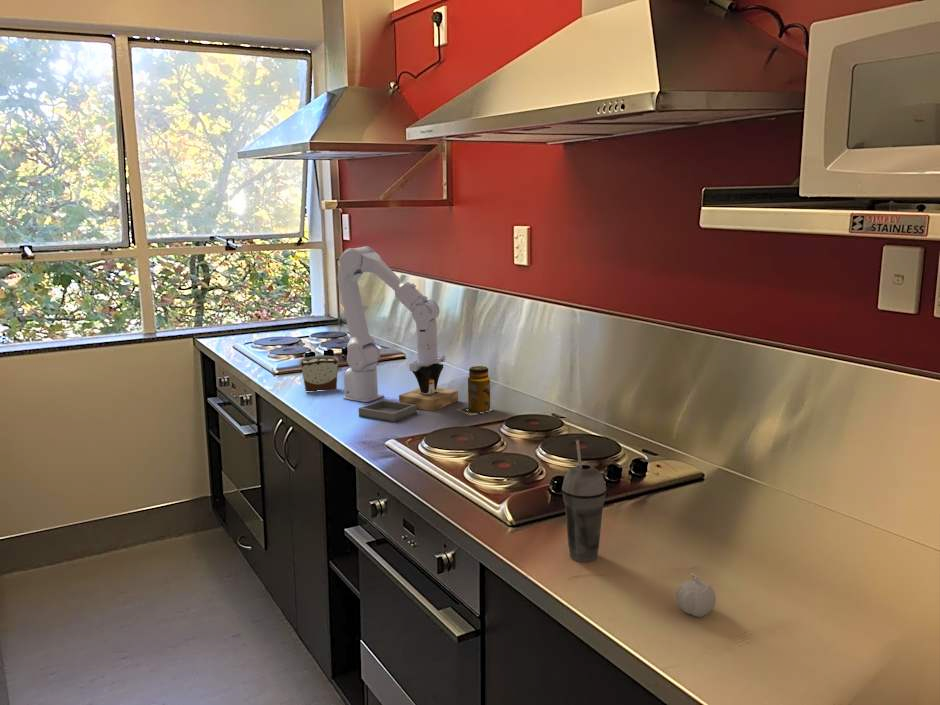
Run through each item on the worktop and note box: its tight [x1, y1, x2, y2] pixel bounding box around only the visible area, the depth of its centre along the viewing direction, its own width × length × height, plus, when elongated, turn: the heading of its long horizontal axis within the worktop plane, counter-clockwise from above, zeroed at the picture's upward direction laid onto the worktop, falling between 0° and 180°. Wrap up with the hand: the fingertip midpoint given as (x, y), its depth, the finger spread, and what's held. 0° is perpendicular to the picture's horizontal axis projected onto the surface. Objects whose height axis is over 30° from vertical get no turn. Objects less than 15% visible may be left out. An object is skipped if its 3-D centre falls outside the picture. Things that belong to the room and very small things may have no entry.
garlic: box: [675, 572, 717, 618], centre depth 114 cm, size 6×5×5 cm
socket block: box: [398, 387, 459, 412], centre depth 229 cm, size 12×12×3 cm
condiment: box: [456, 365, 491, 417], centre depth 220 cm, size 7×8×12 cm
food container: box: [298, 355, 341, 392], centre depth 248 cm, size 12×6×10 cm, turn 108°
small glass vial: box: [423, 378, 435, 396], centre depth 229 cm, size 3×3×7 cm
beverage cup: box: [561, 439, 608, 563], centre depth 130 cm, size 7×7×20 cm
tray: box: [358, 399, 418, 423], centre depth 218 cm, size 12×10×2 cm
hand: (428, 391), depth 229 cm, fingers closed on small glass vial, 3 cm apart
